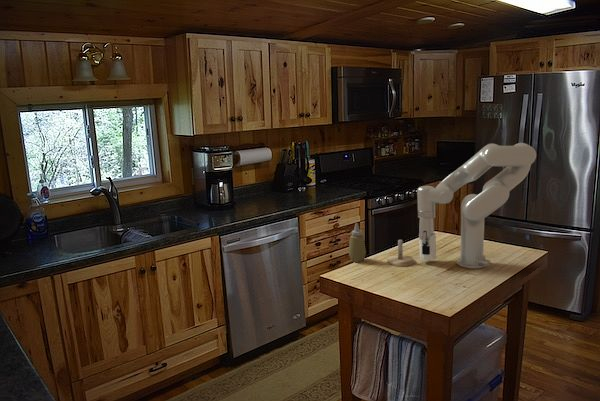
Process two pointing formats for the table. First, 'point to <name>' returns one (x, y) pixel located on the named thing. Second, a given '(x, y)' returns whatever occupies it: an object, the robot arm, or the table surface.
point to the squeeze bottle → (357, 245)
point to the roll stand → (400, 257)
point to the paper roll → (432, 248)
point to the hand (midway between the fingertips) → (427, 251)
